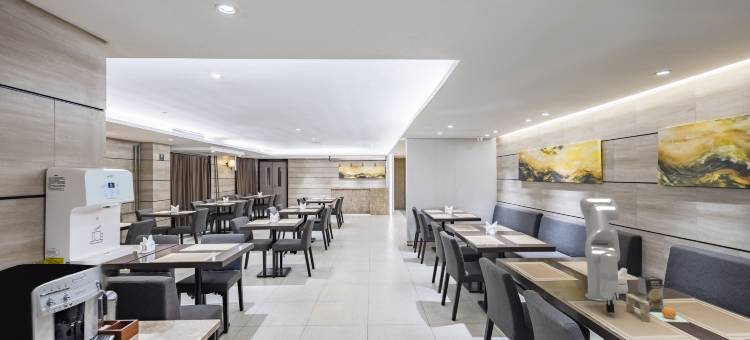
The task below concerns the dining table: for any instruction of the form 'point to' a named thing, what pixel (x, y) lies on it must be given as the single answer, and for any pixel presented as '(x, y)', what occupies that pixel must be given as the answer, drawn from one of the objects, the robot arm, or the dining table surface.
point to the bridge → (643, 306)
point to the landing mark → (662, 318)
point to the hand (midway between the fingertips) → (610, 312)
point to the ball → (668, 313)
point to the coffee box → (651, 291)
